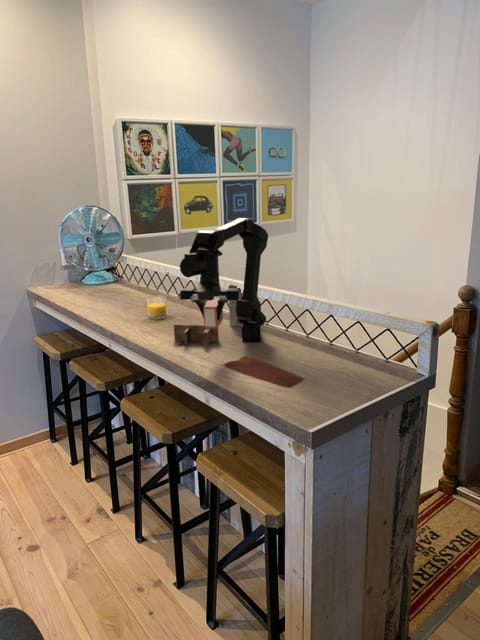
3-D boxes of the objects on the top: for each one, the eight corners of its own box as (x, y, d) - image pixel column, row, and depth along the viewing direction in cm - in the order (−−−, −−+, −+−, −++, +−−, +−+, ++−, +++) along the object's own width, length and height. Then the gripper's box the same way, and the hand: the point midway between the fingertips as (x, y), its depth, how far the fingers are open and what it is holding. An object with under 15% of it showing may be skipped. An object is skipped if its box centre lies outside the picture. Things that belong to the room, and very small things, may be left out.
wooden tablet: (222, 367, 154) (221, 362, 153) (245, 358, 160) (245, 353, 160) (286, 391, 135) (286, 386, 135) (309, 380, 142) (309, 375, 141)
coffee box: (234, 319, 202) (232, 281, 198) (249, 320, 201) (248, 281, 196) (229, 326, 193) (227, 286, 189) (245, 326, 192) (244, 286, 188)
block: (222, 319, 164) (222, 299, 162) (216, 328, 154) (215, 307, 152) (211, 319, 164) (210, 299, 162) (204, 328, 155) (203, 306, 153)
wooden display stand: (218, 340, 177) (218, 324, 175) (214, 346, 171) (214, 330, 169) (176, 339, 180) (174, 323, 178) (170, 345, 173) (169, 329, 172)
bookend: (191, 340, 178) (190, 327, 176) (187, 345, 172) (186, 332, 171) (183, 340, 178) (182, 327, 177) (179, 345, 173) (178, 331, 172)
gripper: (173, 276, 146) (176, 326, 150) (234, 277, 143) (236, 328, 147) (183, 269, 156) (186, 316, 161) (240, 269, 153) (242, 317, 158)
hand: (211, 320), depth 156 cm, fingers closed on block, 4 cm apart
